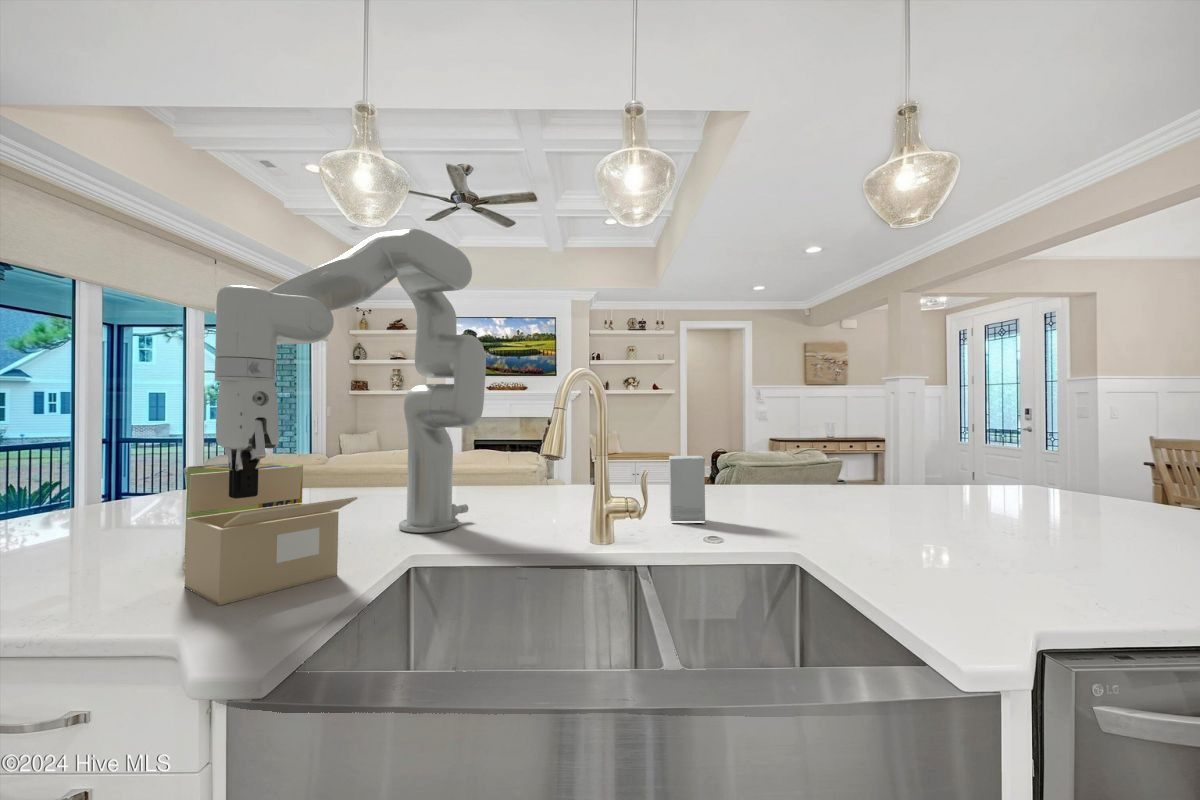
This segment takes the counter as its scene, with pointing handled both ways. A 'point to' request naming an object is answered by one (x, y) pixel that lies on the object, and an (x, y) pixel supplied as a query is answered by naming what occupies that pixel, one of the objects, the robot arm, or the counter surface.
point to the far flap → (272, 487)
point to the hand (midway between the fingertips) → (243, 496)
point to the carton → (258, 554)
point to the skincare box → (687, 488)
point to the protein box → (239, 508)
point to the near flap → (288, 511)
